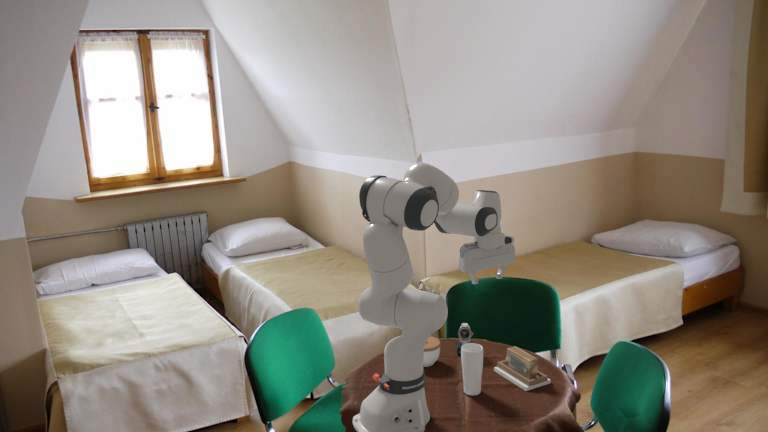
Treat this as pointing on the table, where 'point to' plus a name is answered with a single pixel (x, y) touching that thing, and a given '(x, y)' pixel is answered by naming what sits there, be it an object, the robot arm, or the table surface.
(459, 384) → the table surface
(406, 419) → the robot arm
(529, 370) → the cardboard box
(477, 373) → the drinking glass
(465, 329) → the watch
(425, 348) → the lidded jar
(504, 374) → the small wooden cabinet
